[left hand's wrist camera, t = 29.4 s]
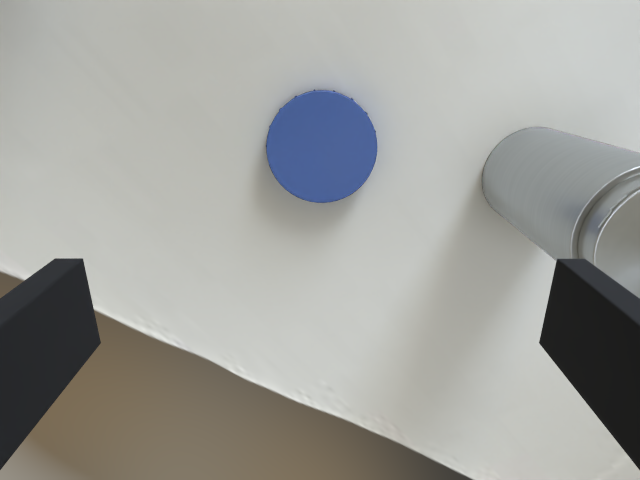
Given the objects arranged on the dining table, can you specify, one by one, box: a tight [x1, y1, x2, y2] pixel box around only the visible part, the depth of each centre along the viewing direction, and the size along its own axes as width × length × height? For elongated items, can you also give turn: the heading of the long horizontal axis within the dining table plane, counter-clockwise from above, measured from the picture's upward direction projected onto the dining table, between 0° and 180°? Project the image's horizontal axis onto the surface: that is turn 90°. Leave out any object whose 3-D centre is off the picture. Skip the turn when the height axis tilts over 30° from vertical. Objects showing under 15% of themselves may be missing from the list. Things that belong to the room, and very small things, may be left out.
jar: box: [482, 127, 640, 298], centre depth 31 cm, size 8×8×16 cm
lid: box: [266, 90, 377, 203], centre depth 37 cm, size 9×9×2 cm
